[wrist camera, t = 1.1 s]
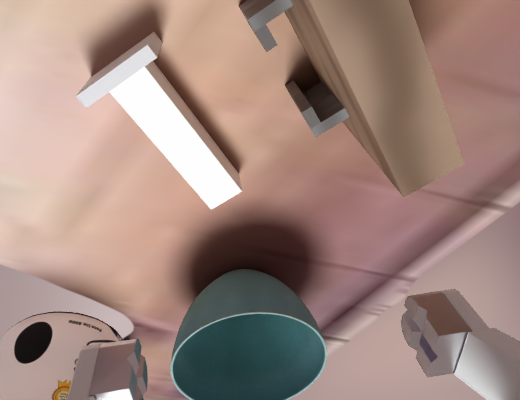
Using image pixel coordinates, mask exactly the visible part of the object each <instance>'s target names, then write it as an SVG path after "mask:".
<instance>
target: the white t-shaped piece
mask: <svg viewBox="0 0 520 400" xmlns="http://www.w3.org/2000/svg"><path fill="white" fill-rule="evenodd" d="M161 46H162V41H161V40H160V39H159V37H158V36H157V34H156V33H155V32H152V33H151V34H150V35H148V36H147V37H146V38H144V39H143V40H141V41H140V42H139V43H137V44H136V45H135V46H133V47H132V48H130V49H129V50H128V51H126V52H125V53H124V54H122V55H121V56H119V57H118V58H117V59H115V60H114V61H112V62H111V63H110V64H108V65H107V66H106V67H104V68H103V69H101V70H100V71H99V72H97V73H96V74H95V75H93V76H92V77H91V78H90V79H89V80H88V82H87V83H86V84H85V85H84V87H83V88H82V89H81V90H80V92H79V93H78V94H77V95H76V97H77V98H78V100H79V101H80V102H81V103H82V104H83V105H84V106H85V107H86V108H87V107H88V106H90V105H91V104H93V103H94V102H95V101H97V100H98V99H100V98H101V97H102V96H104V95H105V94H107V93H108V92H110V93H111V94H112V96H113V97H114V98H115V99H116V100H117V101H118V102H119V104H120V105H121V106H122V107H123V108H124V109H125V111H126V112H127V113H128V114H129V115H130V116H131V117H132V119H133V120H134V121H135V122H136V123H137V124H138V126H139V127H140V128H141V129H142V130H143V131H144V132H145V134H146V135H147V136H148V137H149V138H150V139H151V141H152V142H153V143H154V144H155V145H156V146H157V147H158V149H159V150H160V151H161V152H162V153H163V154H164V156H165V157H166V158H167V159H168V160H169V161H170V162H171V164H172V165H173V166H174V167H175V168H176V169H177V171H178V172H179V173H180V174H181V175H182V176H183V177H184V179H185V180H186V181H187V182H188V183H189V184H190V186H191V187H192V188H193V189H194V190H195V191H196V192H197V194H198V195H199V196H200V197H201V198H202V199H203V201H204V202H205V203H206V204H207V205H208V206H209V207H210V209H211V210H212V209H213V208H215V207H217V206H218V205H220V204H222V203H223V202H225V201H227V200H228V199H230V198H232V197H233V196H235V195H237V194H238V193H240V192H242V189H241V183H240V178H239V173H238V172H237V171H236V170H235V168H234V167H233V166H232V164H231V163H230V162H229V160H228V159H227V158H226V156H225V155H224V154H223V152H222V151H221V150H220V148H219V147H218V146H217V145H216V143H215V142H214V141H213V139H212V138H211V137H210V135H209V134H208V133H207V131H206V130H205V129H204V127H203V126H202V125H201V123H200V122H199V121H198V120H197V118H196V117H195V116H194V114H193V113H192V112H191V110H190V109H189V108H188V106H187V105H186V104H185V102H184V101H183V100H182V98H181V97H180V96H179V95H178V93H177V92H176V91H175V89H174V88H173V87H172V85H171V84H170V83H169V81H168V80H167V79H166V77H165V76H164V75H163V73H162V72H161V71H160V70H159V68H158V67H157V66H156V64H155V63H154V62H153V60H155V59H156V58H157V57H158V54H159V51H160V48H161Z"/></svg>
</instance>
